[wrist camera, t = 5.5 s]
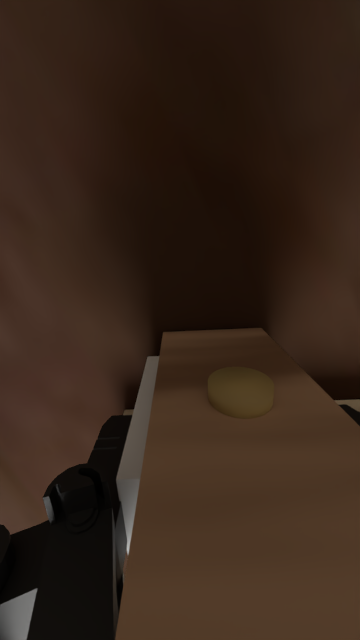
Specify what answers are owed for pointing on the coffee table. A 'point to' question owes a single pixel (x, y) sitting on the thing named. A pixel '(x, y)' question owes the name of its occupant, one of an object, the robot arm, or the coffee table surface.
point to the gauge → (243, 500)
